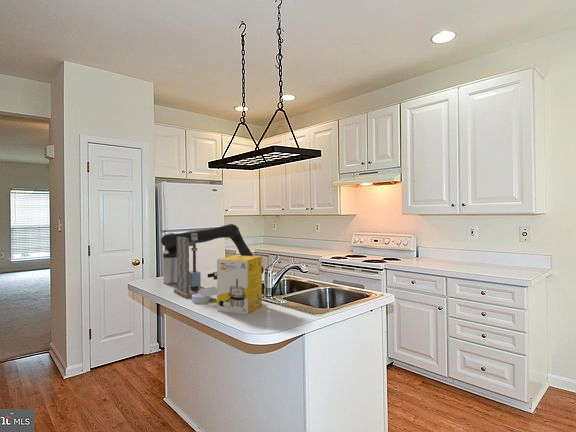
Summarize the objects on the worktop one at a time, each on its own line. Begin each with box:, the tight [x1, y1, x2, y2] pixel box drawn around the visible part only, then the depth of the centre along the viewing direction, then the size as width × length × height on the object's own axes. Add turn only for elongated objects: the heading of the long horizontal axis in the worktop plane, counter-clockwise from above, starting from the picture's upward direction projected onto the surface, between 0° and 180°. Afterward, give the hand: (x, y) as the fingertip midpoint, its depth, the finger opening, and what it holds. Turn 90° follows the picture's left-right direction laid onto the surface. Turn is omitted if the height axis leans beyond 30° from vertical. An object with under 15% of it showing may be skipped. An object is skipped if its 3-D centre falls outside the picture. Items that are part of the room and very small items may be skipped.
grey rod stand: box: [173, 233, 205, 299], centre depth 208 cm, size 18×16×35 cm
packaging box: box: [216, 254, 263, 315], centre depth 176 cm, size 16×16×25 cm
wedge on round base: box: [191, 286, 217, 304], centre depth 191 cm, size 9×7×13 cm
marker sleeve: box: [189, 270, 202, 287], centre depth 208 cm, size 5×5×8 cm
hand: (210, 276), depth 215 cm, fingers open, 8 cm apart
